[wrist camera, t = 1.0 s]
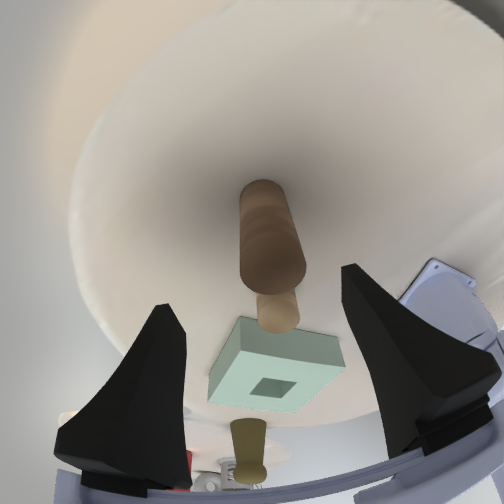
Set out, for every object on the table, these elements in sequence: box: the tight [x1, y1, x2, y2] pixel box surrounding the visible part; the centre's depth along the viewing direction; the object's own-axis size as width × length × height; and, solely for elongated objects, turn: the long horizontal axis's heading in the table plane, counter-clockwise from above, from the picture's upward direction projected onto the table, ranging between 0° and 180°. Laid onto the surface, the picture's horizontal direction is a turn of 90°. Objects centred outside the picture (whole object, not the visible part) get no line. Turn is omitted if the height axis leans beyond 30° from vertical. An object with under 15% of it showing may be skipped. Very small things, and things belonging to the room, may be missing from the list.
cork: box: [230, 418, 267, 484], centre depth 38 cm, size 6×6×11 cm
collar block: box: [208, 316, 346, 413], centre depth 30 cm, size 11×11×4 cm
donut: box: [194, 472, 222, 492], centre depth 62 cm, size 10×4×10 cm, turn 57°
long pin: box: [240, 180, 306, 295], centre depth 17 cm, size 3×3×8 cm
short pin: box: [256, 288, 300, 334], centre depth 24 cm, size 3×3×4 cm
